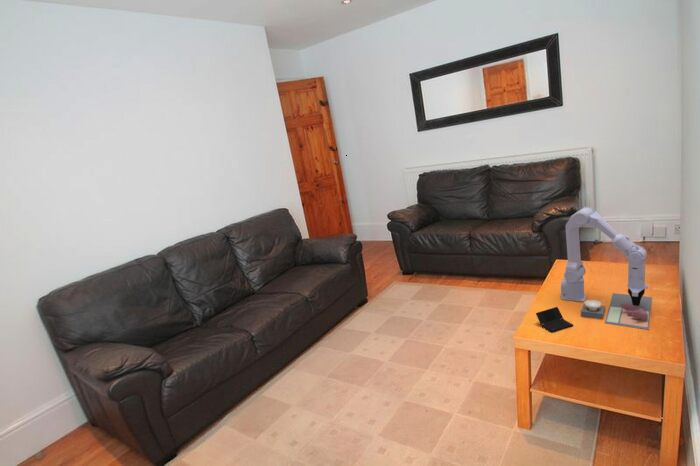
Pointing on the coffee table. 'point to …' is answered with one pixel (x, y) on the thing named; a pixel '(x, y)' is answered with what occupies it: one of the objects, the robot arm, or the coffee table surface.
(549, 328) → the handheld gaming console
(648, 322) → the grey flat board
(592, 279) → the coffee table surface
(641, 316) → the video game controller
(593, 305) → the button
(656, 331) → the coffee table surface
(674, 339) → the coffee table surface
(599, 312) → the button housing
